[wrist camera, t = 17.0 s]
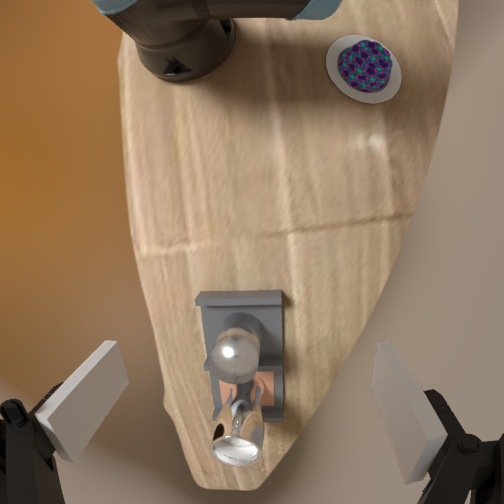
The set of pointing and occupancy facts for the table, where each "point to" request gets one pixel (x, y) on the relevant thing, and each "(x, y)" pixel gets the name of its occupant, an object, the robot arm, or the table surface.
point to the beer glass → (240, 425)
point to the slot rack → (271, 350)
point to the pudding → (364, 68)
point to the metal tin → (237, 349)
